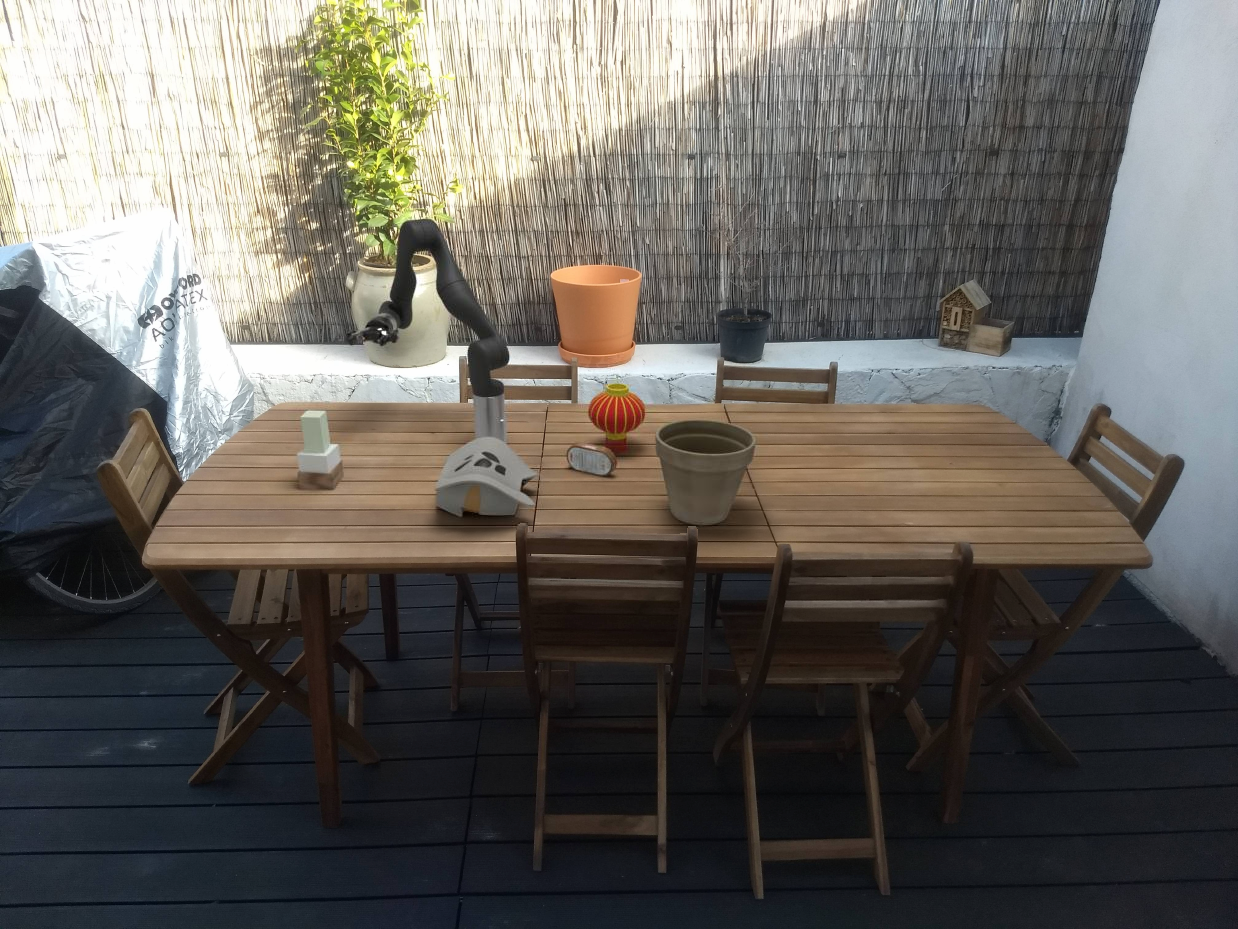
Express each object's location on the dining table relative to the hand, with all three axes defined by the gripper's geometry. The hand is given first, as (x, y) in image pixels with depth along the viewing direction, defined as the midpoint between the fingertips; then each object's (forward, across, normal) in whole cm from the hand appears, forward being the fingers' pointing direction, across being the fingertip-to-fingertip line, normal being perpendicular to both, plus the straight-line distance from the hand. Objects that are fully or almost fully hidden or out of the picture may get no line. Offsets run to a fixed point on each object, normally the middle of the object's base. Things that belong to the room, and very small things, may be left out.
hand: (365, 342), depth 228 cm
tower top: (+26, -8, +27) cm, 38 cm away
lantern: (-2, +72, +32) cm, 79 cm away
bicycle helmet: (+37, +39, +32) cm, 63 cm away
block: (+26, -8, +22) cm, 35 cm away
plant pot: (+38, +94, +32) cm, 106 cm away
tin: (+15, +65, +32) cm, 74 cm away
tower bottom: (+26, -8, +32) cm, 42 cm away
